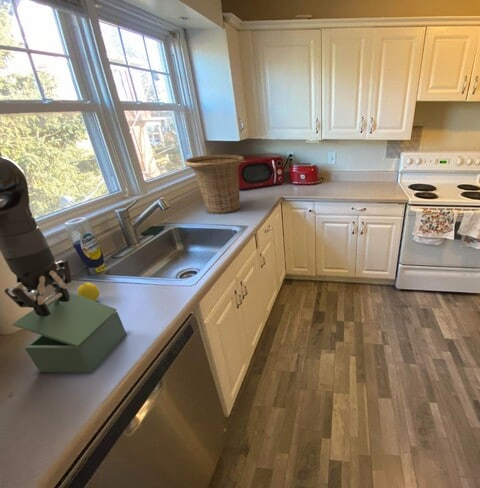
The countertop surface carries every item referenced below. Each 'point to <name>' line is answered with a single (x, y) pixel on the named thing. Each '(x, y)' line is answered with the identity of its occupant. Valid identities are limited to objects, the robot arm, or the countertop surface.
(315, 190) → the countertop surface
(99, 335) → the bin
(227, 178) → the wicker basket
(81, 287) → the lemon
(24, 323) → the bin lid
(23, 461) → the countertop surface
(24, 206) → the robot arm
